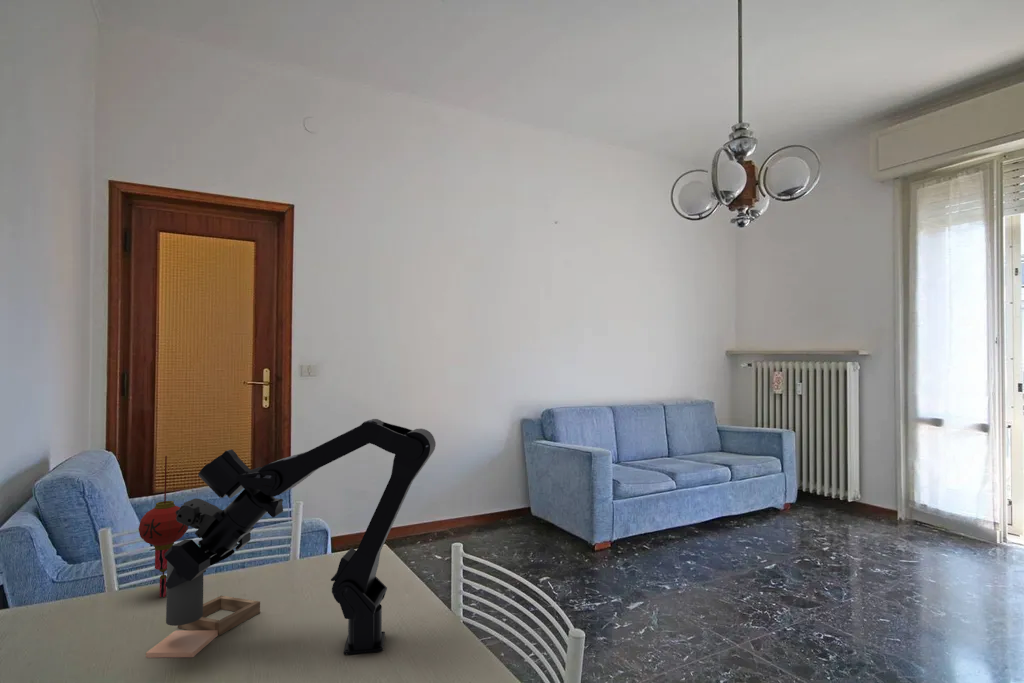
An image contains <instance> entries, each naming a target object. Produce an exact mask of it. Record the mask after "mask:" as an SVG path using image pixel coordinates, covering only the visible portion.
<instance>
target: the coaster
mask: <svg viewBox="0 0 1024 683" xmlns="http://www.w3.org/2000/svg"><path fill="white" fill-rule="evenodd" d="M218 636H219V635H218V631H216V630H192V631H191V630H174V631H173V632H171V633H170V634H168V635H167V636H166V637H165V638H163V639H162V640H160V642H157V644H155V645H154V646H153V647H152V648H150V649H148V650H147V651H146V652H145V658H149V659H150V658H151V659H152V658H194V657H195V656H196V655H198V653H200V652H201V651H202V650H204V648H206V647H207V645H209V643H212V641H213V640H215V639H216V637H218Z"/></svg>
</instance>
